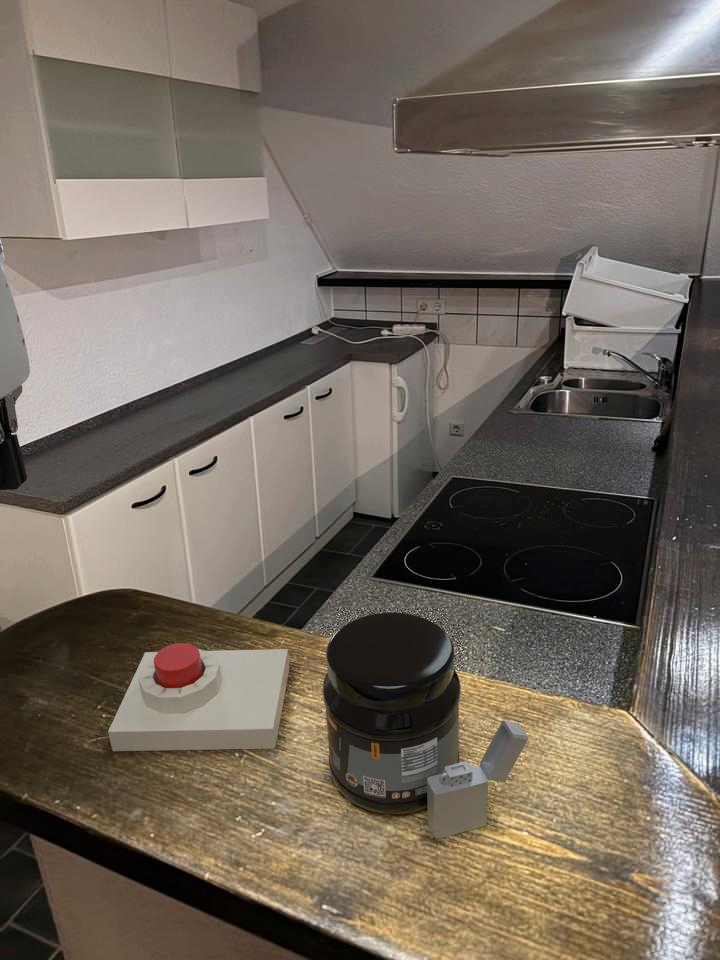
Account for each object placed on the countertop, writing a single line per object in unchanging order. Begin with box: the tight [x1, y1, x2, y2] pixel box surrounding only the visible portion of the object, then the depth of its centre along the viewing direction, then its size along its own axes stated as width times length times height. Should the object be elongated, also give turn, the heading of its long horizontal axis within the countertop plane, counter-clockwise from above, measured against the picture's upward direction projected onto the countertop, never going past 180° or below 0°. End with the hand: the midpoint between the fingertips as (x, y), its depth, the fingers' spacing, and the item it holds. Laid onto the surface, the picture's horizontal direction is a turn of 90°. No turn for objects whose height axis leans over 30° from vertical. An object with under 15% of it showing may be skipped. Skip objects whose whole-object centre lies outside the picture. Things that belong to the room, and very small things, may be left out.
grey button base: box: [107, 648, 291, 752], centre depth 69 cm, size 14×11×4 cm
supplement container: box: [322, 612, 462, 815], centre depth 59 cm, size 10×10×12 cm
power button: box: [154, 642, 202, 688], centre depth 68 cm, size 4×4×2 cm
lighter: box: [426, 720, 529, 840], centre depth 55 cm, size 7×2×8 cm, turn 105°
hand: (3, 485), depth 60 cm, fingers closed
